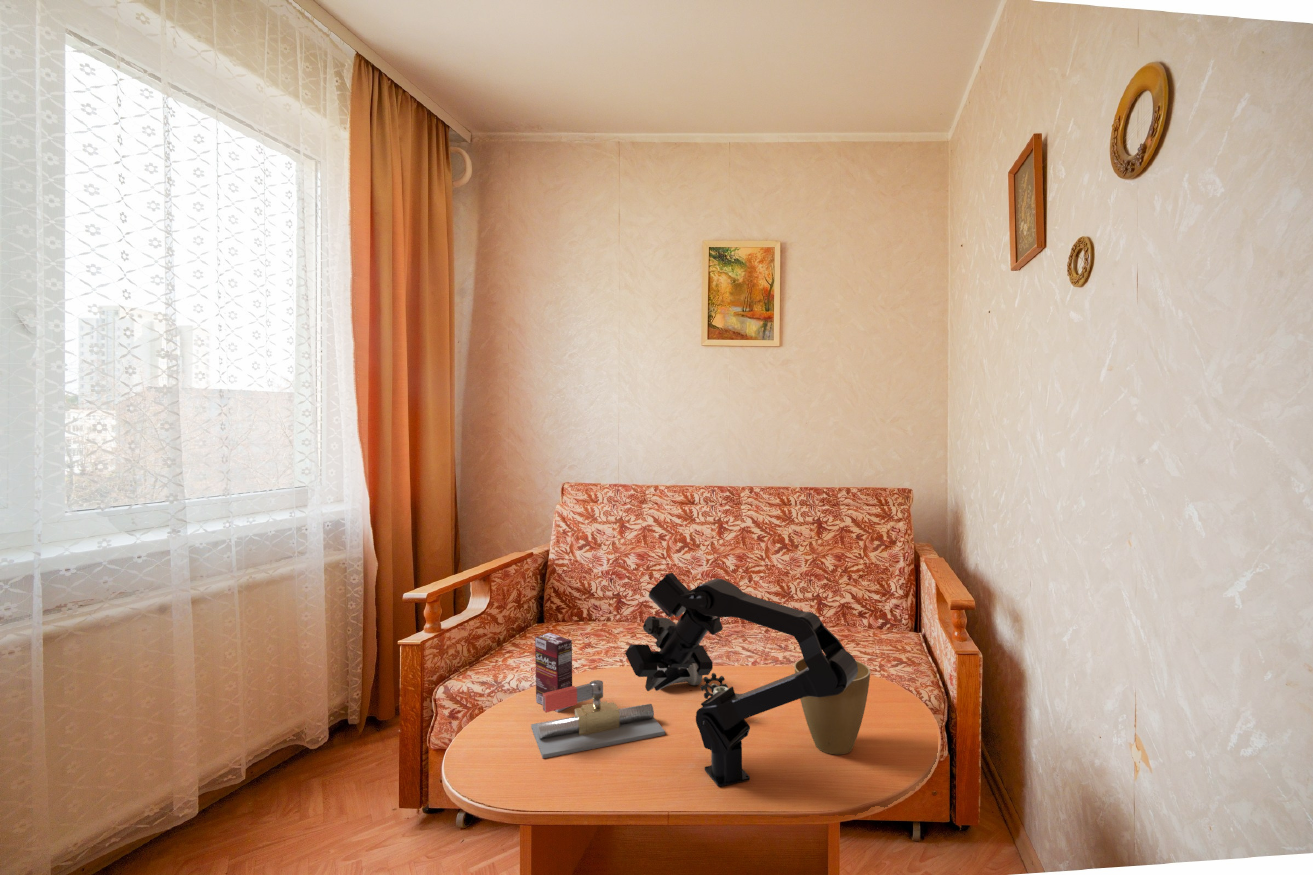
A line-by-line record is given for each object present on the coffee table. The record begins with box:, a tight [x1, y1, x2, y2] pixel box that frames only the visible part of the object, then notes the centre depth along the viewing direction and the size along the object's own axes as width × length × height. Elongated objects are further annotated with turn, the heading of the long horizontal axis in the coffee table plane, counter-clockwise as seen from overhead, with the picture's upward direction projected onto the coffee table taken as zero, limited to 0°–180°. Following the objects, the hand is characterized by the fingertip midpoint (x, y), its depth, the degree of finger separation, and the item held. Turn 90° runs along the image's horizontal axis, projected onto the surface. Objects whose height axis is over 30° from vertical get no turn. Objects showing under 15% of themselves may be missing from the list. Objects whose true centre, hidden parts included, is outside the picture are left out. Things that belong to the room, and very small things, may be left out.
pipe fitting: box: [672, 663, 703, 686], centre depth 158 cm, size 12×8×10 cm
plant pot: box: [793, 658, 871, 755], centre depth 127 cm, size 15×15×16 cm
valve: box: [699, 672, 730, 700], centre depth 144 cm, size 7×7×12 cm
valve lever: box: [542, 679, 604, 713], centre depth 132 cm, size 13×3×3 cm, turn 122°
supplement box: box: [534, 632, 573, 713], centre depth 148 cm, size 9×5×16 cm, turn 48°
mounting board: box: [530, 704, 666, 759], centre depth 134 cm, size 26×14×1 cm, turn 110°
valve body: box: [537, 699, 655, 739], centre depth 134 cm, size 25×4×6 cm, turn 110°
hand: (651, 688), depth 126 cm, fingers closed
